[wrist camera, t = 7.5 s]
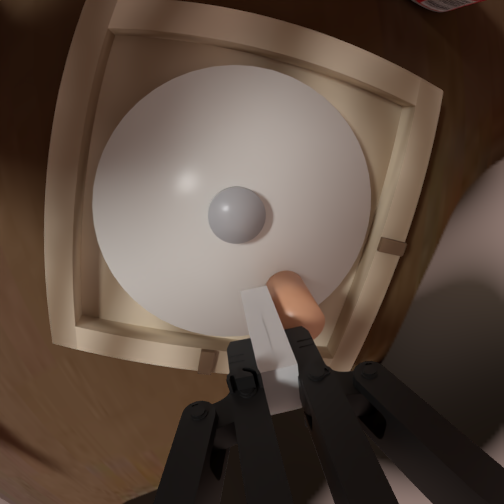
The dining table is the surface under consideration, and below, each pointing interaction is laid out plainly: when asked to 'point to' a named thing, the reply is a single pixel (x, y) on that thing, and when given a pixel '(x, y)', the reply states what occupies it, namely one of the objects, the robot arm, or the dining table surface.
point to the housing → (179, 63)
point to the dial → (231, 199)
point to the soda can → (444, 4)
